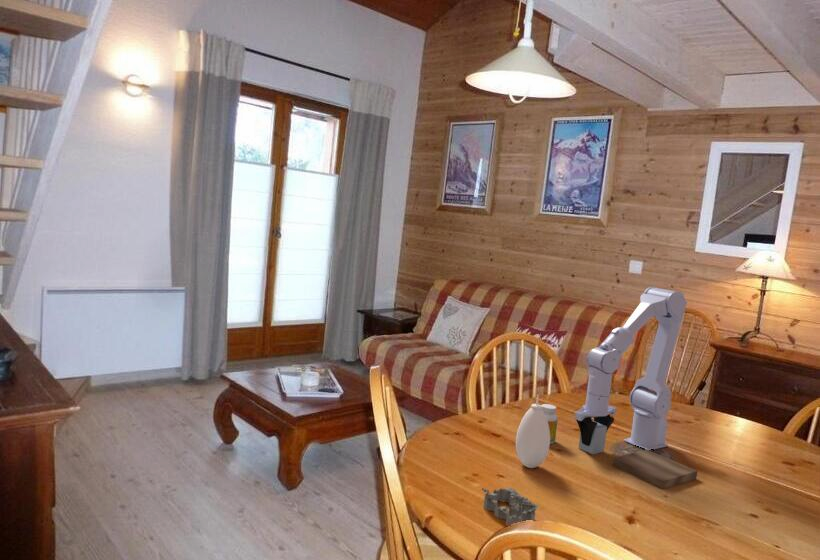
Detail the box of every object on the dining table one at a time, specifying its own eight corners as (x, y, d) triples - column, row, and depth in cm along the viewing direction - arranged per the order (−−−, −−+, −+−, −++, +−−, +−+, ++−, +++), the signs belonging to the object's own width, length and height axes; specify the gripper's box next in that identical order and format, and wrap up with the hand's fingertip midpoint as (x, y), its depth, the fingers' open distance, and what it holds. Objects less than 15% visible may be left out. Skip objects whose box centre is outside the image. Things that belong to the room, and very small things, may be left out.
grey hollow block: (477, 505, 121) (479, 486, 120) (506, 499, 125) (508, 481, 124) (511, 531, 112) (513, 510, 111) (540, 523, 116) (542, 504, 115)
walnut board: (645, 456, 156) (646, 449, 155) (696, 478, 144) (697, 470, 144) (612, 465, 148) (613, 457, 148) (662, 489, 136) (664, 481, 136)
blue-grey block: (589, 445, 160) (592, 420, 159) (603, 451, 156) (607, 426, 155) (578, 448, 157) (581, 422, 157) (592, 454, 154) (595, 428, 153)
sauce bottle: (507, 460, 145) (515, 389, 143) (535, 458, 147) (543, 389, 146) (524, 474, 137) (532, 400, 136) (552, 472, 140) (561, 399, 138)
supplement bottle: (555, 445, 158) (559, 410, 157) (534, 442, 159) (539, 407, 158) (554, 438, 163) (558, 404, 162) (534, 435, 164) (538, 401, 163)
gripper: (603, 386, 163) (597, 434, 164) (568, 391, 154) (562, 441, 156) (625, 394, 157) (618, 443, 158) (589, 399, 149) (583, 451, 150)
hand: (592, 443), depth 157 cm, fingers closed on blue-grey block, 5 cm apart
